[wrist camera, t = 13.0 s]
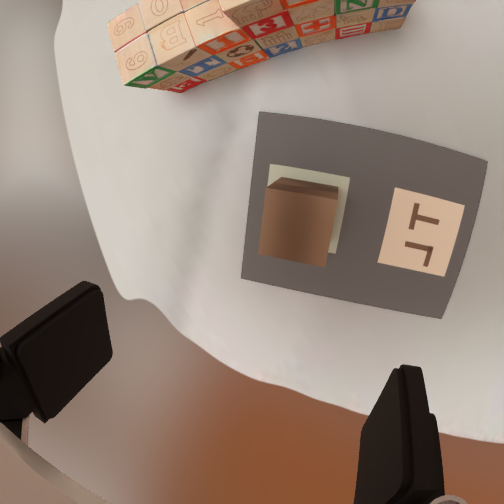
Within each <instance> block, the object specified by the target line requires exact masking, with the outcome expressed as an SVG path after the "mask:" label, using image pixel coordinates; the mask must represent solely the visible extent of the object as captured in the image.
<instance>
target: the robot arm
mask: <svg viewBox="0 0 504 504" xmlns="http://www.w3.org/2000/svg"><path fill="white" fill-rule="evenodd" d="M0 343H1V345H2V347H1V348H0V504H112V503H110V502H108V501H107V500H105V499H103V498H101V497H100V496H98V495H96V494H95V493H93V492H91V491H90V490H88V489H87V488H85V487H83V486H82V485H80V484H79V483H77V482H76V481H74V480H73V479H71V478H70V477H68V476H66V475H65V474H64V473H62V472H61V471H60V470H58V469H57V468H55V467H54V466H53V465H51V464H50V463H49V462H47V461H46V460H45V459H43V458H42V457H41V456H39V455H38V454H37V453H36V452H34V451H33V450H32V449H31V448H29V447H28V432H29V414H30V413H31V412H33V413H34V415H35V416H36V417H37V418H38V419H40V420H41V421H42V422H44V423H46V422H47V421H48V420H49V419H50V418H54V417H55V416H56V415H57V414H58V413H59V412H60V411H61V410H62V409H63V408H64V407H65V406H66V405H67V404H68V403H69V402H70V400H72V399H73V398H74V397H75V396H76V394H77V393H78V392H79V391H80V390H81V389H82V388H83V387H84V386H85V385H86V384H87V383H88V382H89V381H90V380H91V379H92V378H93V377H94V376H95V375H96V374H97V373H98V372H99V371H100V370H101V369H102V368H103V367H104V366H105V365H106V364H107V363H108V362H109V361H110V359H111V358H112V354H113V351H112V346H111V341H110V335H109V330H108V323H107V317H106V311H105V305H104V297H103V293H102V292H101V290H100V288H99V286H98V285H95V284H93V283H90V282H87V281H82V282H80V283H79V284H77V285H76V286H74V287H73V288H71V289H70V290H68V291H66V292H65V293H64V294H62V295H60V296H59V297H57V298H56V299H54V300H53V301H52V302H50V303H49V304H47V305H46V306H44V307H43V308H41V309H40V310H38V311H37V312H35V313H34V314H33V315H31V316H30V317H28V318H27V319H25V320H24V321H23V322H21V323H20V324H18V325H17V326H16V327H14V328H13V329H11V330H10V331H9V332H7V333H6V334H4V335H3V336H2V337H0ZM444 492H445V491H444V477H443V467H442V458H441V450H440V441H439V434H438V427H437V421H436V417H435V415H434V414H431V413H429V406H428V400H427V394H426V389H425V383H424V378H423V373H422V369H421V368H420V367H417V366H410V365H404V364H403V365H401V366H400V368H399V369H397V368H394V369H393V371H392V373H391V375H390V377H389V379H388V381H387V383H386V385H385V387H384V389H383V391H382V393H381V395H380V397H379V398H378V400H377V402H376V404H375V406H374V408H373V410H372V411H371V413H370V415H369V417H368V419H367V420H366V422H365V424H364V426H363V428H362V431H361V438H360V451H359V462H358V472H357V482H356V490H355V498H354V504H467V503H466V502H465V501H464V500H463V499H461V498H459V497H457V496H452V495H447V496H445V493H444Z"/></svg>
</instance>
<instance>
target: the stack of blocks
mask: <svg viewBox="0 0 504 504" xmlns="http://www.w3.org/2000/svg"><path fill="white" fill-rule="evenodd" d="M415 1H416V0H140V1H139V2H138V4H136V5H134V6H132V7H130V8H129V9H127V10H126V11H124V12H123V13H121V14H120V15H118V16H117V17H115V18H114V19H112V20H111V21H109V22H108V23H107V26H108V30H109V34H110V38H111V43H112V47H113V51H114V52H115V56H116V60H117V64H118V68H119V71H120V75H121V78H122V82H123V85H125V86H131V87H138V88H153V89H159V90H168V91H172V92H178V93H181V92H184V91H186V90H188V89H190V88H192V87H194V86H196V85H199V84H201V83H203V82H206V81H207V80H209V81H210V80H213V79H215V78H217V77H220V76H222V75H225V74H227V73H230V72H233V71H235V70H237V69H241V68H244V67H246V66H249V65H252V64H255V63H258V62H261V61H264V60H267V59H269V58H270V57H273V56H277V55H280V54H283V53H286V52H289V51H293V50H296V49H300V48H302V47H306V46H310V45H314V44H317V43H321V42H325V41H329V40H333V39H341V38H346V37H350V36H355V35H360V34H366V33H372V32H378V31H385V30H391V29H398V28H400V27H401V25H402V23H403V22H404V20H405V18H406V15H407V13H408V12H409V10H410V8H411V6H412V5H413V3H414V2H415Z"/></svg>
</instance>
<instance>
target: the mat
mask: <svg viewBox="0 0 504 504" xmlns="http://www.w3.org/2000/svg"><path fill="white" fill-rule="evenodd" d="M487 163H488V162H487V161H485V160H482V159H479V158H476V157H473V156H470V155H467V154H464V153H461V152H458V151H455V150H451V149H448V148H445V147H441V146H438V145H434V144H431V143H427V142H424V141H420V140H416V139H412V138H409V137H405V136H401V135H396V134H392V133H388V132H384V131H379V130H375V129H370V128H365V127H360V126H355V125H350V124H344V123H339V122H333V121H327V120H321V119H315V118H308V117H301V116H293V115H286V114H277V113H268V112H259V117H258V126H257V135H256V144H255V153H254V162H253V171H252V180H251V189H250V198H249V208H248V217H247V226H246V236H245V245H244V255H243V264H242V274H241V278H242V279H246V280H251V281H255V282H260V283H264V284H269V285H273V286H278V287H282V288H287V289H292V290H296V291H301V292H306V293H311V294H315V295H320V296H325V297H330V298H335V299H340V300H345V301H349V302H354V303H359V304H364V305H370V306H375V307H380V308H385V309H390V310H395V311H401V312H406V313H411V314H417V315H422V316H428V317H433V318H439V319H442V317H443V314H444V312H445V309H446V307H447V304H448V302H449V299H450V297H451V294H452V291H453V289H454V286H455V283H456V280H457V278H458V275H459V272H460V269H461V266H462V263H463V260H464V257H465V254H466V250H467V247H468V244H469V241H470V237H471V234H472V230H473V226H474V223H475V219H476V215H477V211H478V207H479V203H480V198H481V194H482V189H483V185H484V180H485V174H486V169H487ZM280 177H285V178H291V179H297V180H303V181H309V182H315V183H321V184H326V185H332V186H337V187H338V202H337V207H336V213H335V219H334V224H333V229H332V235H331V240H330V245H329V250H328V255H327V260H326V265H325V267H320V266H315V265H310V264H305V263H300V262H295V261H290V260H285V259H280V258H275V257H270V256H265V255H260V254H258V251H259V242H260V234H261V225H262V217H263V208H264V199H265V191H266V187H268V186H269V185H270V184H272V183H273V182H275V181H276V180H278V179H279V178H280Z"/></svg>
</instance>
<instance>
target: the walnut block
mask: <svg viewBox="0 0 504 504" xmlns="http://www.w3.org/2000/svg"><path fill="white" fill-rule="evenodd" d="M337 202H338V187H337V186H332V185H326V184H321V183H315V182H309V181H303V180H297V179H291V178H285V177H280V178H279V179H278V180H276V181H275V182H273V183H272V184H270V185H269V186H268V187H266V191H265V199H264V208H263V217H262V225H261V234H260V242H259V251H258V254H260V255H265V256H270V257H275V258H280V259H285V260H290V261H295V262H300V263H305V264H310V265H315V266H320V267H325V265H326V260H327V255H328V250H329V245H330V240H331V235H332V229H333V224H334V219H335V213H336V207H337Z"/></svg>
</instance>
